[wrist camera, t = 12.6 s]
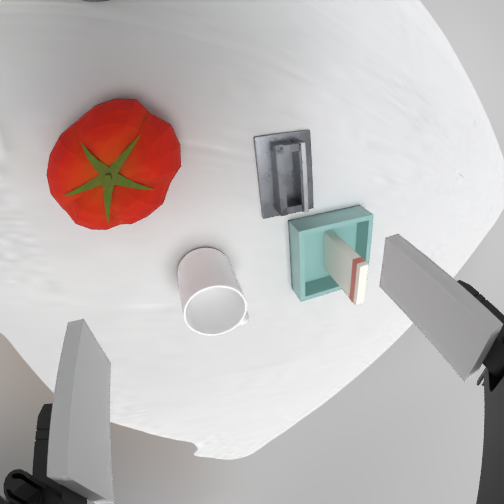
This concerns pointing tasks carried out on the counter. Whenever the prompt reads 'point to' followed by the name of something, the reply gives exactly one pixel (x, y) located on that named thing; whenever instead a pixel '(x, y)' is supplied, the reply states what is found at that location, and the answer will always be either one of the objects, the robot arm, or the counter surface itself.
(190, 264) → the mug
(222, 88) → the counter surface
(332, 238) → the cream red-striped panel
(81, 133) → the tomato
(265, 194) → the metal rectangular holder
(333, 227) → the tray
